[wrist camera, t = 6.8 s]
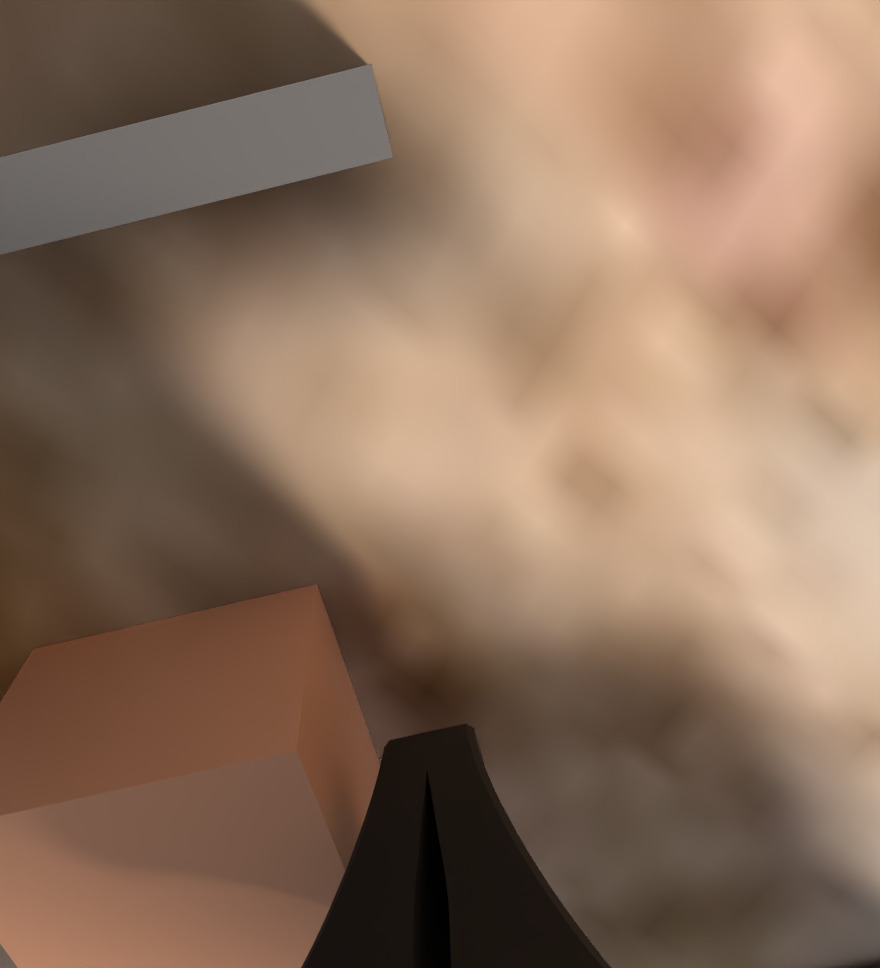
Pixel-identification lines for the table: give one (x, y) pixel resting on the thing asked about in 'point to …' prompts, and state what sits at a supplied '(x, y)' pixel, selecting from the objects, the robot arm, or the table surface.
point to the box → (190, 163)
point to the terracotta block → (181, 790)
